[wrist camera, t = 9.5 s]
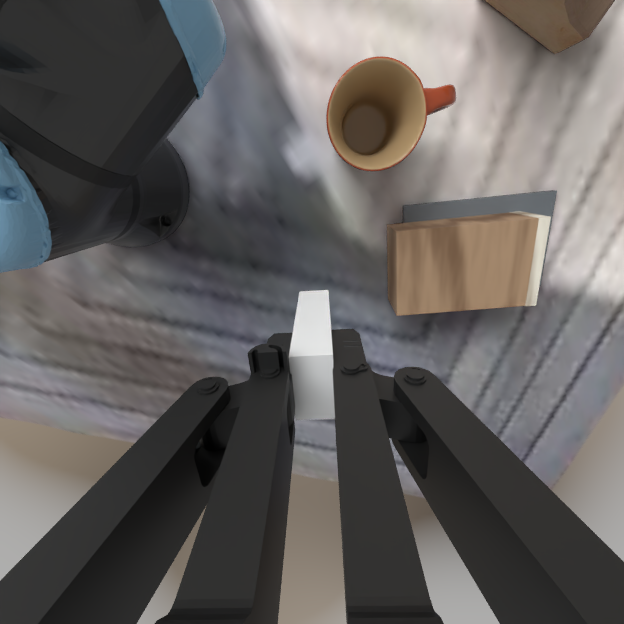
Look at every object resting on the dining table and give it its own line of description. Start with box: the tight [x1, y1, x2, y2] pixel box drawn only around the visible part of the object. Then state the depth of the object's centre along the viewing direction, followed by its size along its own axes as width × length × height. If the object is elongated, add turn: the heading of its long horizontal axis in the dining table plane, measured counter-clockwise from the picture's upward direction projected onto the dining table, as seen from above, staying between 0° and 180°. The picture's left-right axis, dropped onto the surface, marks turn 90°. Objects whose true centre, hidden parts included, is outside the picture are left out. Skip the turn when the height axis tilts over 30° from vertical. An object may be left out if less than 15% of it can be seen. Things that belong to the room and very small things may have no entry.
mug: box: [327, 57, 456, 171], centre depth 33 cm, size 12×9×10 cm
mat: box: [403, 190, 557, 286], centre depth 42 cm, size 18×12×1 cm, turn 96°
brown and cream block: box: [387, 211, 551, 316], centre depth 40 cm, size 6×10×16 cm
